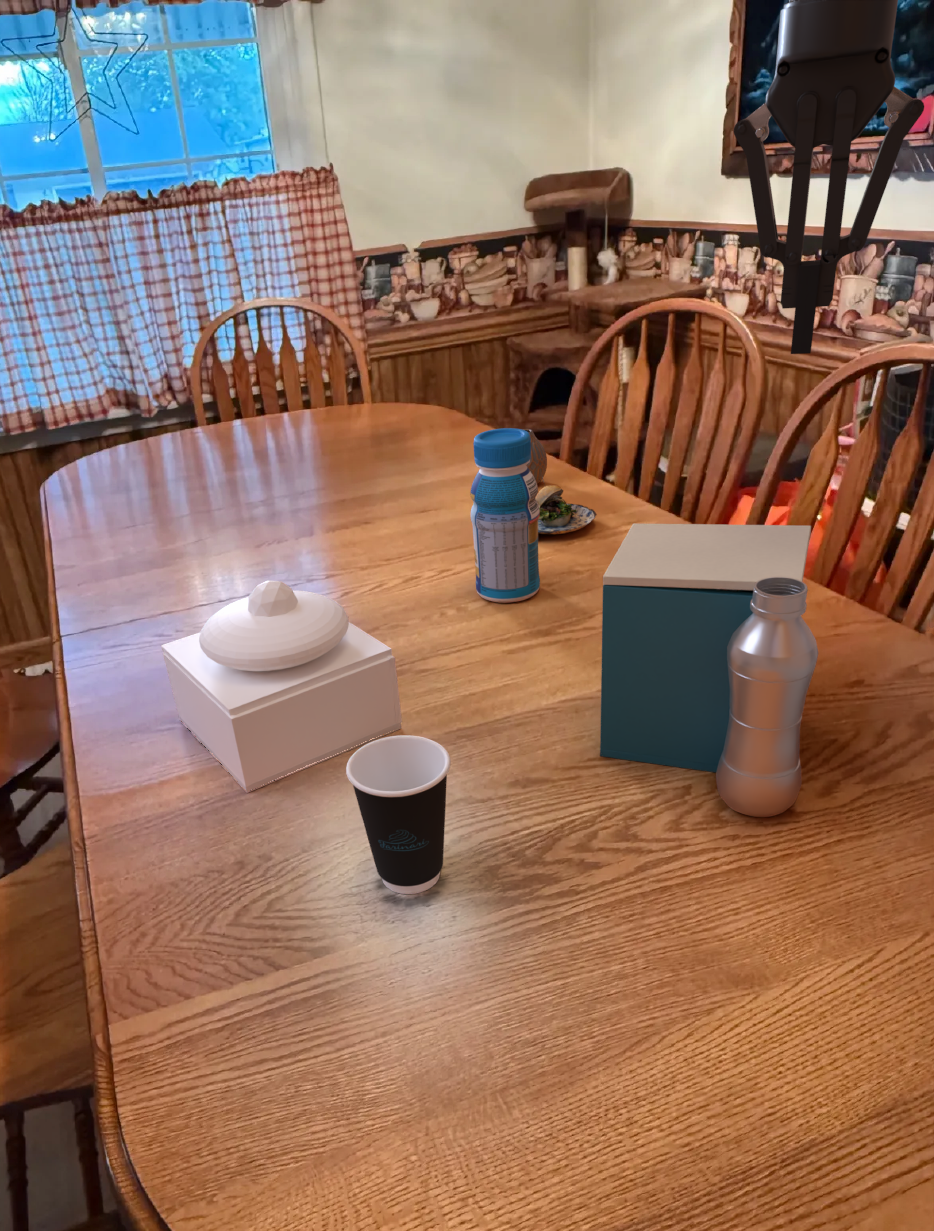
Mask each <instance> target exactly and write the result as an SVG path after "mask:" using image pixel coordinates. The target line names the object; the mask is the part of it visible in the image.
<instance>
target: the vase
mask: <svg viewBox="0 0 934 1231" xmlns="http://www.w3.org/2000/svg"><path fill="white" fill-rule="evenodd" d="M521 429H522V430H525V431H527V432H528V433H529V434H530V439H531V458H530V462H529V463H528V464H527V465H526V466H527V467H528V468H529V470H530V471H531V473H532V474H533V476H534V478H535V480H536V483H537V485H539V484H540V483H541V482H542V481H543V479H542V476H543V478H545V475H546V472H547V467H548V458H547V452H546V449H545V447H544V445H543V444H542V443H541V441H540V440H539V439H538V438H537V437H536V435H535V433H534V431H533V429H530V428H521Z"/></svg>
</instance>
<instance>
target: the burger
mask: <svg viewBox="0 0 934 1231" xmlns="http://www.w3.org/2000/svg"><path fill="white" fill-rule="evenodd" d="M542 482H543V484H544V486H543V487H542V488H541V489H539V490H538V493H537V495H536V498H535V499H536V501H537V503H538V505H539V511H540V515H539V519H538V534H541V535H561V534H568V533H571V532H575V531H579V530H581V529H583V528H584V527H586V526H587V525H589V524H590V523H591V522H592V521H593V520H594V519H596V516H597V512H596V511H595V510H594V509H593V508H590V507H588V506H585V505H582V504H577V503H567V501H566V500H565V499H564V498H563V497H562V495H563V494H564V489H563V488H562V487H561V486H559V485H553V484H552V485H550V484H549V485H546V484H545V480H544V477H543V476H542Z"/></svg>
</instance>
